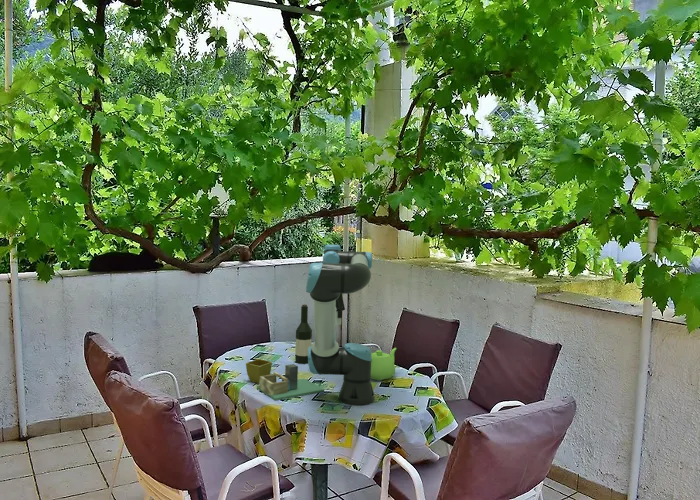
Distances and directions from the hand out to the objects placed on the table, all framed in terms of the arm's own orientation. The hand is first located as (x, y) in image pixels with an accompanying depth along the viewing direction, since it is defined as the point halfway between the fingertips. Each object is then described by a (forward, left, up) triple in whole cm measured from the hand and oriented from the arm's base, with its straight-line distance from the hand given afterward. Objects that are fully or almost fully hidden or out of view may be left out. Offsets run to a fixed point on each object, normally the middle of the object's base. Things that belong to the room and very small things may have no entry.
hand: (330, 322), depth 280 cm
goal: (-7, +33, -27) cm, 43 cm away
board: (-8, +25, -27) cm, 37 cm away
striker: (-9, +26, -25) cm, 37 cm away
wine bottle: (+29, -2, -27) cm, 40 cm away
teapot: (-11, -22, -27) cm, 37 cm away
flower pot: (+10, +32, -27) cm, 43 cm away
